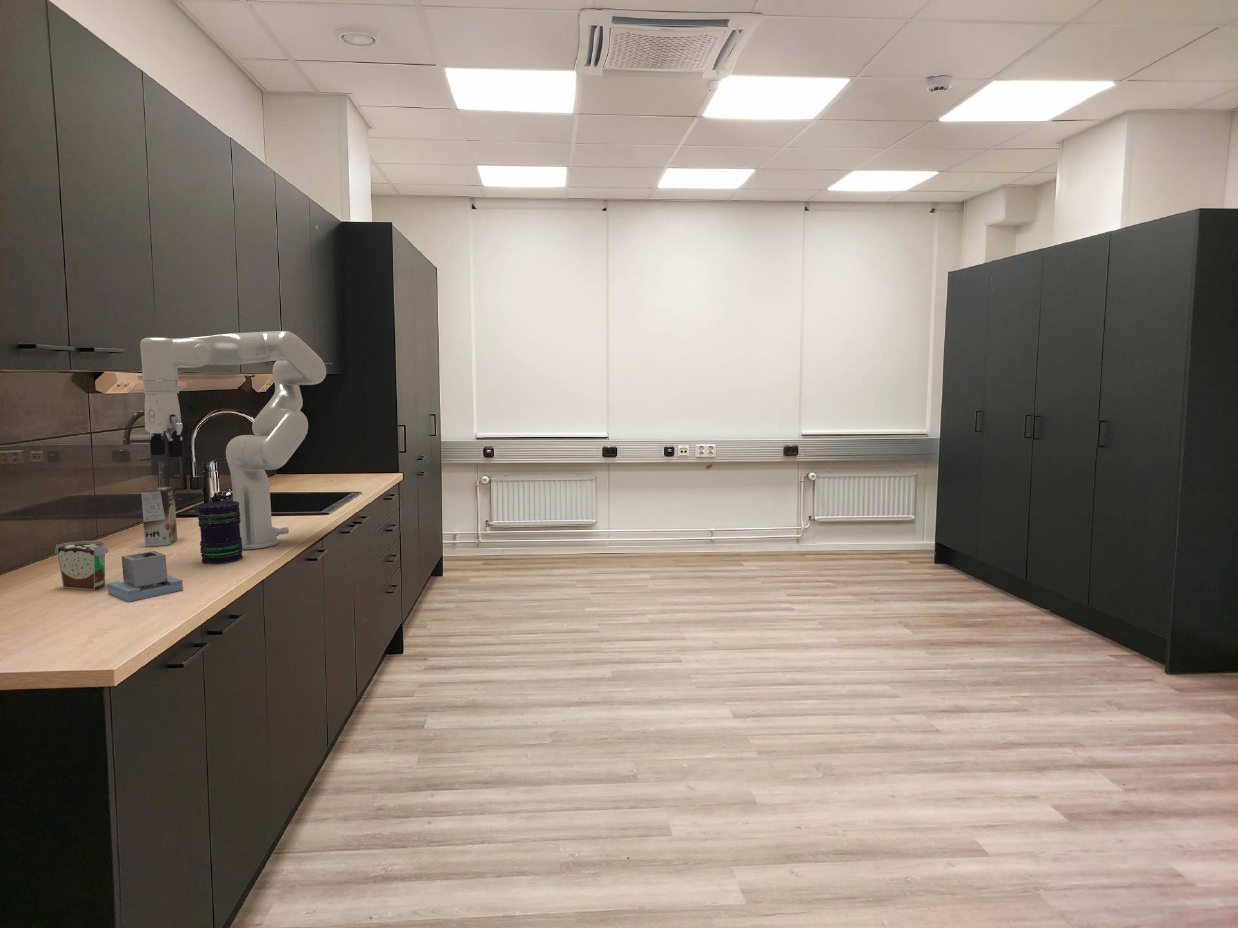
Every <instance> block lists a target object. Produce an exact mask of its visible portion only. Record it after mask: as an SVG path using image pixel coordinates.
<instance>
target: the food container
mask: <svg viewBox="0 0 1238 928" xmlns="http://www.w3.org/2000/svg"><path fill="white" fill-rule="evenodd" d="M55 546H56V547H55V549H54V550H55V551H54V554H57V558H58V559H57V560H58V564H59V571H60V576H61V582H62V583H61V584H62V588H64V589H74V590H75V589H76V590H84V591H85V590H86V591H97V590H100V589H102V588H104V587H105V586H106V581H105V580H106V579H105V578H106V572H105V571H106V554H108V552H109V548H108V547H107V545H106V543H105V542H104V541H100V540H82V541H72V542H65V543H61V544H56V545H55Z"/></svg>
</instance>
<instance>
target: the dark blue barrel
mask: <svg viewBox="0 0 1238 928" xmlns="http://www.w3.org/2000/svg"><path fill="white" fill-rule="evenodd" d="M197 509H198V511H197V513H198V515H197V520H198V527H199V530H200V531H199V532H200V542H199V545H200V555H201V563H202V564H204V565H224V564H230V563H235V562H238V561H241V560H242V559H243V557H244V556H243V549H242V548H243V546H242V538H241V537H240V523H241V522H240V521H241V520H240V512H239V511H240V509H239V502H237V501H233V500H220V501H211V502H203V503H200V504H197Z"/></svg>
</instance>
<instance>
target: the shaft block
mask: <svg viewBox="0 0 1238 928" xmlns="http://www.w3.org/2000/svg"><path fill="white" fill-rule="evenodd" d="M167 578H168V581H165V582H160V583H155V584H150V585H145V586H140V587H133V586H130V585H128V584H126V583H124V581H119V580H118V581H113V582H109V583H107V585H106V586H107V593H108V594H109V595H111V596H113V597H116V598H118V599H121V600H123V601H126V602H128V603H130V602H135V601H141V600H144V599H149V598H152V597H153V598H154V597H158V596H161V595H167V594H172V593H175V592H181V591H183V590H184V589H183V588H184V587H183V585H184V584H183V580H182V579H180V578H177V577H174V576H171V575H168V574H167Z"/></svg>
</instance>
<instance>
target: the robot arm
mask: <svg viewBox="0 0 1238 928" xmlns="http://www.w3.org/2000/svg"><path fill="white" fill-rule="evenodd" d="M139 344H140V357H141V369H142V372H141V373H142V383H143V393H144V394H145V396H144V429H145V431H146V432H147V433H148V434H149V435H148V439H149V446H150V455H152V456H160V455H161V456H163V455H165V454H166V446H167V457H168V458H179V457H183V455H184V452H183V451H184V450H183V437H182V436H183V427H184V426H183V422H182V418H181V417H182V416H181V409H180V402H179V396H178V394H180V385H179V374H178V373H179V372H178V369H179V368H180V369H181V368H182V369H183V368H189V369H190V368H201V367H203V366H206V365H207V366H209V365H211V366H214V365H215V366H233V365H234V366H235V365H245V364H246V365H247V364H254V363H256V364H257V363H262V362H263V363H265V362H274V361H275V362H274V364H273V366H272V377H273V381H274V394H273V395H272V397H271V398H270V400H269V401H268V402H267V403H266V405H265V406H264V407H263V408H262V409H261V410H260V412H259V413H258V414H257V416H256V417H255V418H254V420H253V422H252V425H251V426H252V427H251V429H252V433H253V434H244V435H243V434H242V435H238V436H235V437H233V438H232V439H231V440H230V441H229V442H228V444H227V445H226V449H225V458H226V462H227V465H228V469H229V472H230V477H231V478H230V480H231V487H232V490H231V491H232V501H237V502H239V509H240V511H239V512H240V520H241V521H240V522H241V523H240V537H241V538H242V546H243V548H242V549H241V550H256V549H263V548H265V549H266V548H269V547H273V546H276V545H278V544H279V542H280V540H279V538H278V537H279V536H280V535H286V534H289V532H290V531H289V530H290V529H289V528H288V527H287V526H285V527H281V528H279V527H275V526H273V523H272V508H271V507H272V506H271V492H270V491H271V490H270V489H271V488H270V487H271V486H270V480H269V477H268V475H267V473H266V470H267V471H272V470H278V469H280V468H282V467H283V466H285V464H287V462H288V461H289V459H290V458H291V457H292V456H293V454H294V453H295V452H296V451H297V449H298V448H299V447H300V445H301V444H302V442H303V441H304V440H305V438H306V435H307V434H308V430H309V422H308V418H307V416H306V415H305V414H304V412H302V411H301V409H302V408H303V397H302V392H301V388H300V386H305V385H306V386H309V385H310V386H313V385H317V384H320V383H322V382H324V379H326V376H327V368H326V365H325V364H326V363H324V360H323V359H322V358H321V357H320V356H319V355H318V354H317V353H316V352H315V351H314V350H313V349H312V348H311V347H310V346H309V345H308V344H307V343H306V342H305V341H304V340H302V339H301V338H300V337H299V336H298V335H296V334H294V333H293V332H291V331H288V330H277V331H273V330H272V331H270V330H269V331H255V332H254V331H251V332H250V331H249V332H234V333H233V332H232V333H223V334H215V335H207V336H197V337H182V338H181V337H179V338H170V337H169V338H168V337H145V338H143V339H141V340H140V343H139ZM164 433H165V435H166V438H167V439H168V441H166V446H165V438H163V437H164Z"/></svg>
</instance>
